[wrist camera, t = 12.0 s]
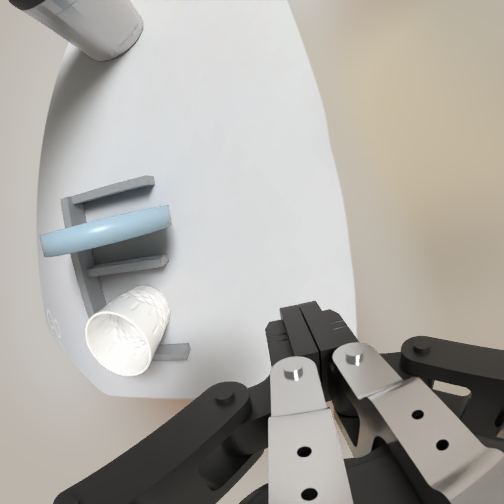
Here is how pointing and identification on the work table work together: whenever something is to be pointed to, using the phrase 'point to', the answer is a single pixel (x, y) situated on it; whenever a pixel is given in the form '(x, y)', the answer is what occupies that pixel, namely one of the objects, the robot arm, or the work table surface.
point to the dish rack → (103, 233)
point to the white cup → (128, 330)
